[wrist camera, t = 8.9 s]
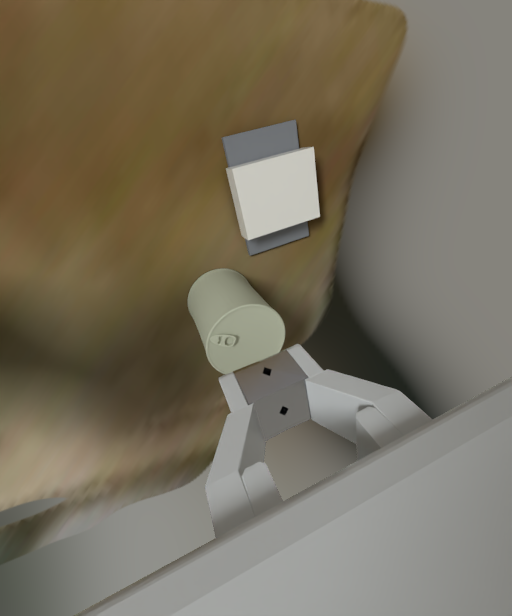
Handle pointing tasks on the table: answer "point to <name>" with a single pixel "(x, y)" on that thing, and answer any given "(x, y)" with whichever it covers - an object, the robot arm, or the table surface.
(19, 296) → the table surface
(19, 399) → the table surface
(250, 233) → the white box
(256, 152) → the mat
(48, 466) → the table surface
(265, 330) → the pale green cylinder
